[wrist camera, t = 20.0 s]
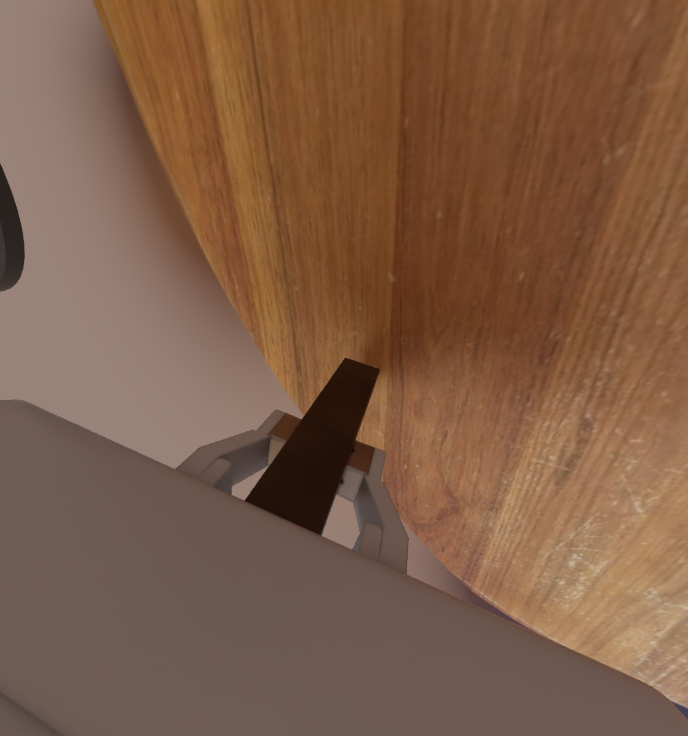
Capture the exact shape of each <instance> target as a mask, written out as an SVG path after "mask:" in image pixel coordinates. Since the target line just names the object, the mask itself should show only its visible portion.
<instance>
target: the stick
mask: <svg viewBox="0 0 688 736" xmlns="http://www.w3.org/2000/svg"><path fill="white" fill-rule="evenodd" d="M379 371H380V369H377V368H374V367H372V366H369V365H366V364H363V363H360V362H357V361H354V360H351V359H348V358H345V359H344V360H343V362H342V363H341V364H340V366H339V367H338V369H337V370H336V372H335V373H334V374H333V376H332V377H331V379H330V380H329V382H328V383H327V384H326V386H325V387H324V389H323V390H322V391H321V393H320V394H319V396H318V397H317V399H316V400H315V401H314V403H313V404H312V406H311V407H310V409H309V410H308V411H307V413H306V414H305V416H304V417H303V419H302V420H301V421H300V423H299V424H298V426H297V427H296V428H295V430H294V431H293V433H292V434H291V436H290V437H289V438H288V440H287V441H286V443H285V444H284V445H283V447H282V448H281V450H280V451H279V453H278V454H277V455H276V457H275V458H274V460H273V461H272V463H271V464H270V465H269V467H268V468H267V470H266V471H265V472H264V474H263V475H262V477H261V478H260V480H259V481H258V482H257V484H256V485H255V487H254V488H253V490H252V491H251V492H250V494H249V495H248V497H247V498H246V499H245V501H246V502H248V503H250V504H253V505H255V506H257V507H259V508H261V509H264V510H266V511H268V512H270V513H272V514H275V515H277V516H279V517H281V518H283V519H286V520H288V521H290V522H292V523H294V524H297V525H299V526H301V527H303V528H305V529H308V530H310V531H312V532H314V533H316V534H319V535H321V536H322V533H323V530H324V527H325V525H326V522H327V519H328V516H329V513H330V511H331V508H332V505H333V502H334V499H335V496H336V493H337V491H338V488H339V485H340V482H341V479H342V476H343V473H344V470H345V467H346V464H347V461H348V458H349V456H350V453H351V450H352V447H353V444H354V442H355V440H356V437H357V434H358V432H359V429H360V426H361V423H362V420H363V417H364V415H365V412H366V409H367V406H368V403H369V401H370V398H371V395H372V392H373V389H374V386H375V383H376V380H377V377H378V374H379Z"/></svg>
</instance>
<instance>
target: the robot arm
mask: <svg viewBox="0 0 688 736" xmlns="http://www.w3.org/2000/svg"><path fill="white" fill-rule="evenodd" d="M301 420H302V419H299V418H297V417H295V416H292V415H289V414H287V413H284V412H282V411H280V410H275V411H274V412H273V413H272V414H271V415H270V416H269V417H268V418H267V419H266V420H265V421H264V423H263V424H262V425H261V426H260V427H259V428H258V429H257V430H251V431H247V432H244V433H241V434H238V435H235V436H233V437H229V438H226V439H223V440H220V441H217V442H214V443H212V444H208V445H205V446H202V447H200V448H198V449H197V450H196V451H195V452H194V453H193V454H192V455H191V456H189V457H188V458H187V459H186V460H185V461H184V462H183V463H182V464H181V465H179V466H178V467H177V468H176V469H173V468H171V467H169V466H167V465H165V464H162V463H160V462H158V461H156V460H154V459H151V458H149V457H147V456H145V455H143V454H140V453H138V452H136V451H134V450H132V449H130V448H127V447H125V446H123V445H121V444H119V443H116V442H114V441H112V440H110V439H107V438H105V437H103V436H101V435H99V434H97V433H94V432H92V431H90V430H88V429H86V428H83V427H81V426H79V425H77V424H75V423H72V422H70V421H68V420H66V419H63V418H61V417H59V416H57V415H55V414H53V413H50V412H48V411H46V410H44V409H42V408H39V407H38V406H35V405H33V404H31V403H29V402H26V401H22V400H2V401H0V736H688V720H687V719H686V718H685V717H684V716H683V715H682V713H681V712H679V710H678V709H677V708H676V707H675V706H674V705H673V704H672V703H671V702H670V700H669V699H668V698H666V697H665V696H664V695H663V694H662V693H660V692H659V691H657V690H656V689H655V688H653V687H652V686H650V685H648V684H646V683H644V682H642V681H640V680H638V679H636V678H633V677H631V676H629V675H627V674H625V673H622V672H620V671H618V670H616V669H614V668H611V667H609V666H607V665H605V664H603V663H600V662H598V661H596V660H594V659H592V658H589V657H587V656H585V655H583V654H580V653H578V652H576V651H574V650H572V649H569V648H567V647H565V646H563V645H561V644H558V643H556V642H554V641H552V640H550V639H547V638H545V637H543V636H541V635H539V634H536V633H534V632H532V631H530V630H528V629H525V628H523V627H521V626H518V625H517V624H514V623H512V622H510V621H508V620H506V619H503V618H501V617H499V616H497V615H495V614H492V613H490V612H487V611H486V610H484V609H481V608H479V607H477V606H475V605H473V604H470V603H468V602H466V601H464V600H462V599H459V598H457V597H455V596H453V595H451V594H448V593H446V592H444V591H442V590H439V589H437V588H435V587H433V586H431V585H428V584H426V583H424V582H422V581H420V580H418V579H415V578H413V577H411V576H409V575H407V559H408V540H409V538H408V536H407V533H406V531H405V529H404V527H403V524H402V522H401V520H400V517H399V515H398V513H397V511H396V508H395V506H394V504H393V502H392V499H391V497H390V495H389V493H388V490H387V488H386V486H385V483H383V482H381V479H382V473H383V468H384V462H385V457H386V451H383V450H380V449H378V448H374V447H372V446H369V445H367V444H364V443H361V442H359V441H356V440H355V442H354V444H353V447H352V450H351V453H350V456H349V458H348V461H347V464H346V467H345V470H344V473H343V476H342V479H341V482H340V485H339V488H338V491H337V493H336V495H339V496H341V497H343V498H345V499H347V500H350V501H352V502H353V505H354V509H355V514H356V518H357V522H358V526H359V531H360V534H359V536H358V538H357V541H356V543H355V545H354V547H353V549H349V548H347V547H345V546H343V545H341V544H338V543H336V542H334V541H332V540H330V539H327V538H325V537H323V536H321V535H319V534H316V533H314V532H312V531H310V530H308V529H305V528H303V527H301V526H299V525H297V524H294V523H292V522H290V521H288V520H286V519H283V518H281V517H279V516H277V515H275V514H272V513H270V512H268V511H266V510H264V509H261V508H259V507H257V506H255V505H253V504H250V503H248V502H246V501H244V500H241V499H239V498H237V497H235V496H233V495H232V490H231V488H232V486H233V485H235V484H237V483H239V482H240V481H242V480H244V479H246V478H248V477H249V476H251V475H253V474H255V473H256V472H258V471H260V470H262V469H263V468H265V467H267V466H269V465H270V464H271V463H272V461H273V460H274V458H275V457H276V455H277V454H278V453H279V451H280V450H281V448H282V447H283V445H284V444H285V443H286V441H287V440H288V438H289V437H290V436H291V434H292V433H293V431H294V430H295V428H296V427H297V426H298V424H299V423H300V421H301Z"/></svg>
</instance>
